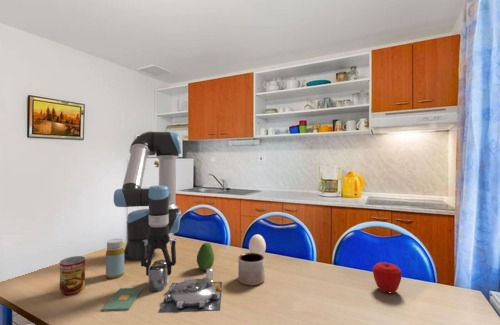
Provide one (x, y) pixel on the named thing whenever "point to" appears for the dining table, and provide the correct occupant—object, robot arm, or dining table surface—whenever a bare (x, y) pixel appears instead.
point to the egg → (257, 245)
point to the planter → (251, 269)
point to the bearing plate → (210, 305)
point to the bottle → (114, 258)
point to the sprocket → (194, 291)
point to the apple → (387, 276)
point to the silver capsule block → (157, 276)
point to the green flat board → (122, 299)
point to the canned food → (72, 276)
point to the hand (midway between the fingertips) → (158, 282)
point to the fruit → (205, 256)
